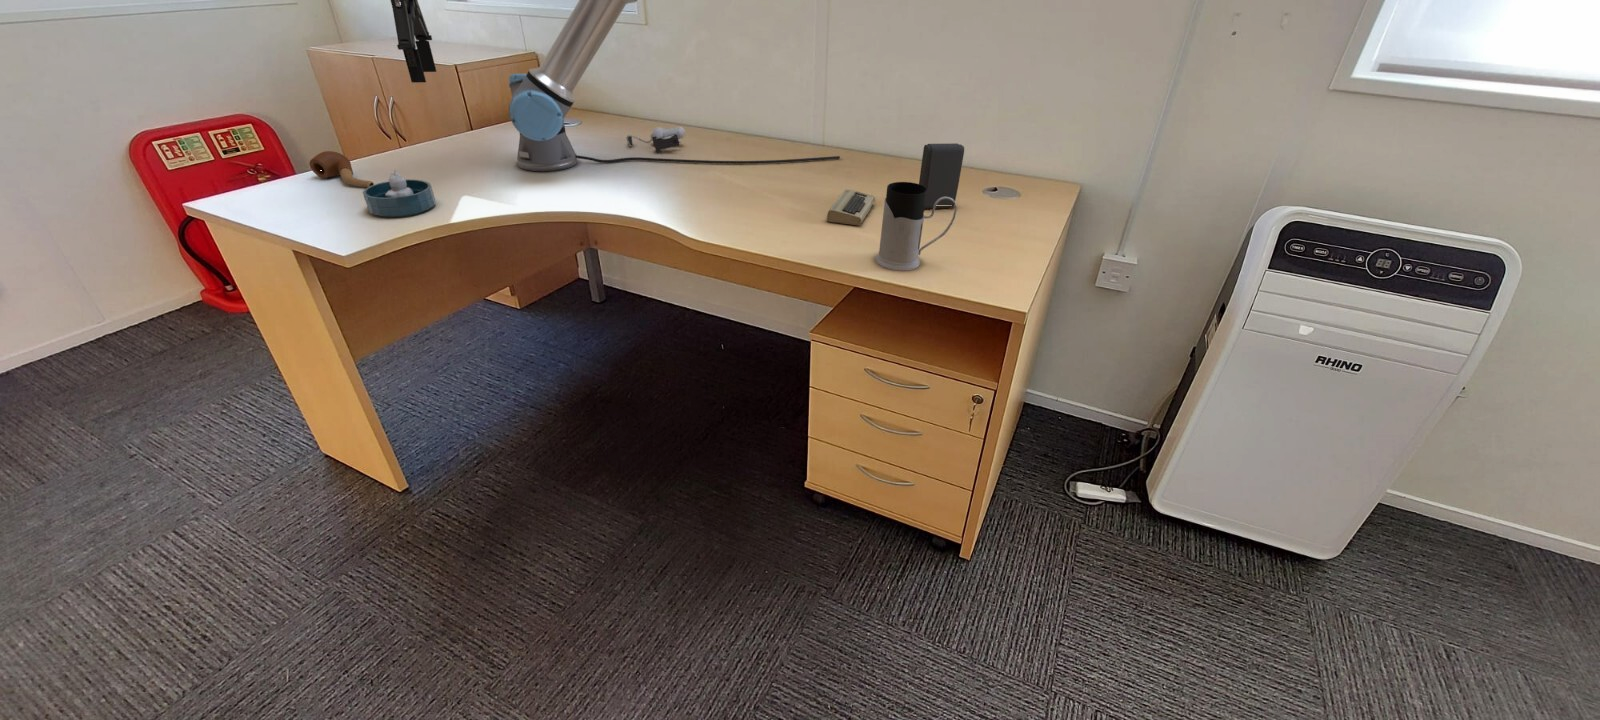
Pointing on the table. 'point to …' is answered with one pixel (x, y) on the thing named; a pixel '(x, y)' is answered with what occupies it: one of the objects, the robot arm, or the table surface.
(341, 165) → the pipe
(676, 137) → the clip-on lamp
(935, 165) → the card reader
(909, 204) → the glass holder
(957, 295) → the table surface
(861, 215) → the computer
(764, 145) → the table surface
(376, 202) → the bowl
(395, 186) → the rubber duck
